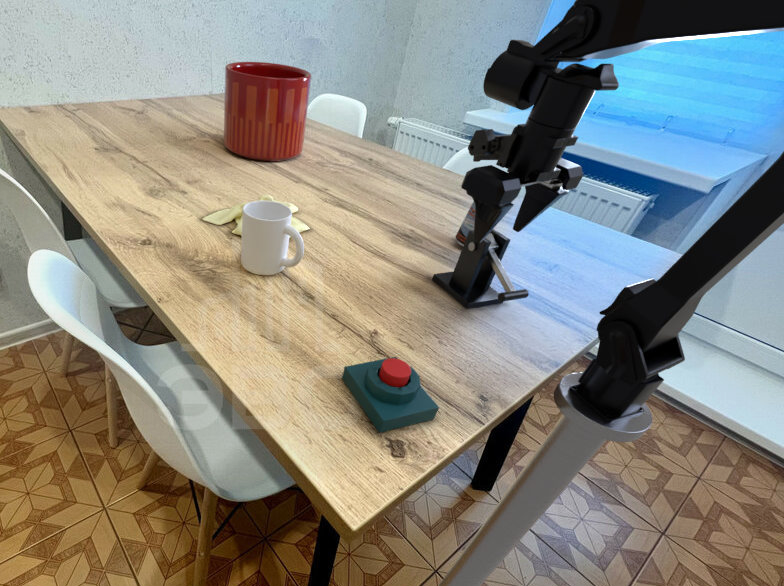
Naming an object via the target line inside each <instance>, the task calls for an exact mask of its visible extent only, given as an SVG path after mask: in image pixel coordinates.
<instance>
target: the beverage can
mask: <svg viewBox="0 0 784 586" xmlns="http://www.w3.org/2000/svg"><path fill="white" fill-rule="evenodd" d="M474 224H475V202H474V200H473V201H472V204H470V207H469V209H468V211H467V213H466V215H465V217H464V218H463V221H462V223H461V225H460V227H459V229H458V231H457V233H456V234H455V240H456V243H457V244H458V245H460V246H461V247H463V246H464V243H465V240H466V238H467V235H468V233H469V231H470V230H474ZM493 229H495V227H494V228H493Z"/></svg>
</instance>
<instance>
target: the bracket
mask: <svg viewBox="0 0 784 586" xmlns="http://www.w3.org/2000/svg"><path fill="white" fill-rule="evenodd" d="M490 233H492V235H493V237H494V239H495V240H496V242H497V244H498V246H499V247H498V248H497V249H496V250H495V253H496V255H497V257H498V259H499V260H500V262H501V263H502V260H503V258H504V255H505V254H506V251H507V250H508V247H509V244H510V242H511V239H510V238H509V237H507V236H506V235H504V234H502V232H501V233H500V232H499V231H498V230H496V229H495V228H494V229H493V230H492V231H491V232H490ZM490 233H489V234H490ZM473 237H474V230H470V231H469V233H468V235H467V238H466V240H465V243H464V246H462V248H461V251H460V254H459V257H458V259H457V261H456V264H455V267H454V269H453V270H452V271H447V272H440V273H433V276H432V278H431V280H432V282H434V283H435V284H437V286H439V287H440V288H441V289H442V290H443V291H444V292H446V294H448V295H449V296H450V297H451V298H452V299H454V300H455V301H456V302H457V303H458V304H459V305H460V306H462V307H463V308H464V309H465V310H470V309H477V308H482V307H488V306H494V305H500V304H504V302H500V301H499V300H498V294H499V293H500V292H499V291H498V290H496V289H495V288H494V287H492V286H491V285H492V282H493V280H494V278H495V275H496V273H495V271H494V269H493V268H492V266H491V264H490V262H489V260H488V258H487V257H486V254H487V251H488V249H489V247H490V244H491V241H489V240H488V239H486V238H484V240H483V241H482V242H480V243H478V242H476V241H474V239H473Z"/></svg>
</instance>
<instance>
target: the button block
mask: <svg viewBox="0 0 784 586" xmlns="http://www.w3.org/2000/svg"><path fill="white" fill-rule="evenodd" d="M390 358H395V359H398V357H397V356H392V357H387V358H382V359H377V360H372V361H371V360H370V361H367V362H362V363H356V364H351V365H346V366H344V368H343V372H342V377H341V380H342V381H343V383H344V384H345V385H346V387H347V388H348V390H349V391H350V392H351V394H352V396H353V397H354V398H355V401H356V402H357V403H358V405H359V406H360V407H361V410H363V412H364V413H365V414H366V416H367V417H368V419H369V421H370V422H371V423H372V424H373V426H374V427H375V429H376V430H377V432H378V433H379V434H381V433H384V432H389V431H393V430H396V429H397V430H398V429H400V428H404V427H409V426H412V425H415V424H416V425H417V424H420V423H425V422H429V421H432V420H435V417H436V415H437V413H438V411H439V409H440V406H439V405H438V404H437V403H436V402H435V400H433V398H432V397H431V396H430V395H429V393H428V392H427V391H426V390H425V389H424V387H422V385H421V377H420V375H419V374H418V372H417V371H416V370H415V369H414V368H413V367H412V366H411V365H409V366H410V368H411V374H410V377H409V380H408V382H407V384H406V385H405V386H403V387H400V388H398V387H392V386H389V385H387V384H385V383H383V382H382V381H381V380H380V378H379V373H380V369H381V366H382V363H383V362H384V361H385V360H386V359H390Z"/></svg>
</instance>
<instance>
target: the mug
mask: <svg viewBox="0 0 784 586" xmlns="http://www.w3.org/2000/svg"><path fill="white" fill-rule="evenodd" d="M246 203H247V204H246V205H244V207H243V217H242V236H241V239H240V240H241V241H240V242H241V243H240V263H241V266H242V267H243V268H244V269H245V270H246V271H248V272H250V273H251V274H253V275H259V276H274V275H277V274H279V273H281V272H282V271H283V270H284V269H285V268H293V267H294V268H295V267H296V266H298V265H299V264H300V262H301V261H302V260H303V258H304V254H305V244H304V239H303V237H302V235H301V233H299V232H298V231H297V230H296V229H295V228H293V227H292V226H291V218H292V217H293V213H292V211H291V209H290V208H289V207H287V206H286V205H284V204H281V203H278V202H274V201H258V200H254V201H250V202H246ZM289 236H290V237H291V239H292V240H293V241H294V244H295V248H296V249H295V250H296V251H295V255H294V256H293V258H291V259H290V258H288V251H289V242H290V238H289Z"/></svg>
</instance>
